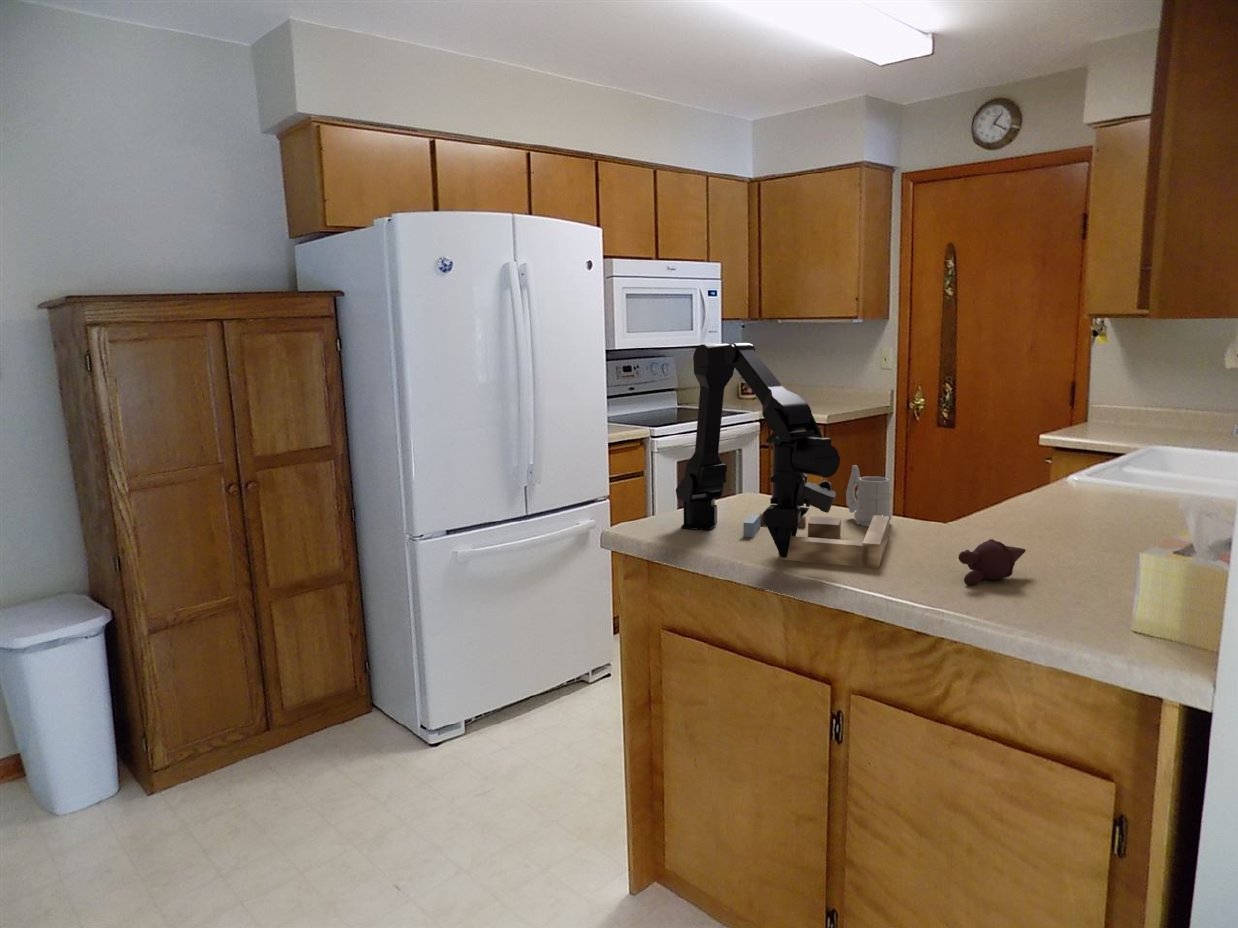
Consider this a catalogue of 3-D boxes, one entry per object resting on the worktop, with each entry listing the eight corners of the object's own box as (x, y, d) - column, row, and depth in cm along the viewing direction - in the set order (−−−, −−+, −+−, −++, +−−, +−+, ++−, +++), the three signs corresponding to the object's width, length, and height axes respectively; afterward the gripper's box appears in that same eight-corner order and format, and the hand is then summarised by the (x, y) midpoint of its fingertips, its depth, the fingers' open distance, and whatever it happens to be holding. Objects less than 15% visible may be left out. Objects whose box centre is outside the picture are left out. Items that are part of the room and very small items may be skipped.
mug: (872, 529, 171) (874, 473, 169) (833, 518, 182) (835, 465, 180) (898, 524, 174) (900, 470, 172) (859, 514, 185) (861, 462, 183)
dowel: (757, 520, 176) (759, 511, 178) (758, 527, 178) (760, 517, 180) (804, 523, 173) (805, 513, 174) (805, 530, 175) (806, 520, 176)
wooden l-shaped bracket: (778, 559, 151) (778, 536, 151) (799, 531, 172) (799, 510, 171) (879, 568, 145) (879, 544, 144) (888, 537, 165) (889, 516, 164)
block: (807, 542, 163) (808, 523, 162) (810, 535, 169) (810, 516, 168) (838, 544, 161) (839, 524, 160) (840, 536, 167) (840, 517, 166)
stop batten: (743, 536, 168) (743, 522, 167) (751, 527, 175) (751, 513, 174) (753, 537, 167) (753, 523, 166) (760, 528, 174) (760, 514, 174)
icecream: (1002, 530, 143) (940, 549, 137) (1038, 529, 137) (975, 549, 130) (1010, 569, 143) (949, 590, 137) (1047, 569, 137) (985, 591, 130)
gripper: (827, 480, 137) (825, 569, 140) (838, 462, 155) (836, 541, 157) (762, 477, 141) (761, 564, 144) (779, 460, 159) (779, 537, 161)
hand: (787, 551), depth 152 cm, fingers open, 8 cm apart
